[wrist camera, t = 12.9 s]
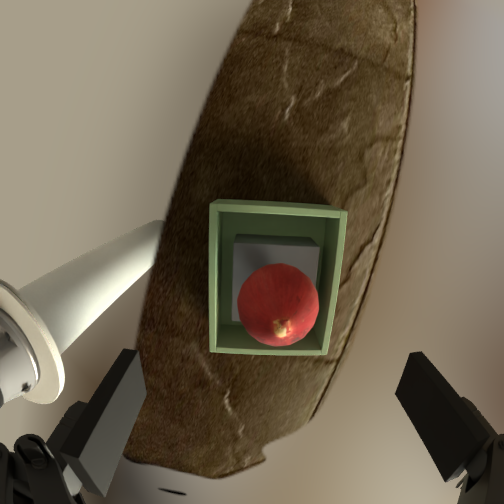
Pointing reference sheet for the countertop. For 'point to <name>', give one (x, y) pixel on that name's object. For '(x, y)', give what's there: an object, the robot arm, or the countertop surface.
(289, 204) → the crate
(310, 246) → the block
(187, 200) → the countertop surface
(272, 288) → the onion
